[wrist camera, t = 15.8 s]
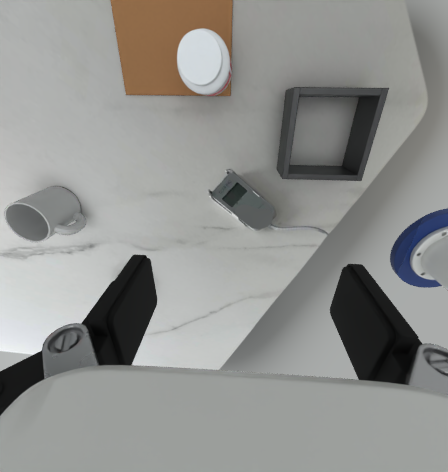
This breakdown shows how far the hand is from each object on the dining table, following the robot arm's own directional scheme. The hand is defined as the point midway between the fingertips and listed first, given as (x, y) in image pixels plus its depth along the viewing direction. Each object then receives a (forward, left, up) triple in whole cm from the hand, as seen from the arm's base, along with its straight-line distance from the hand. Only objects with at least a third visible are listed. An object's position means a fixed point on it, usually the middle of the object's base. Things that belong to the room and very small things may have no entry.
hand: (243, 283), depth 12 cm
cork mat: (+10, -15, -32) cm, 37 cm away
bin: (-12, -4, -32) cm, 35 cm away
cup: (+33, +10, -32) cm, 47 cm away
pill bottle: (+5, -12, -32) cm, 35 cm away
